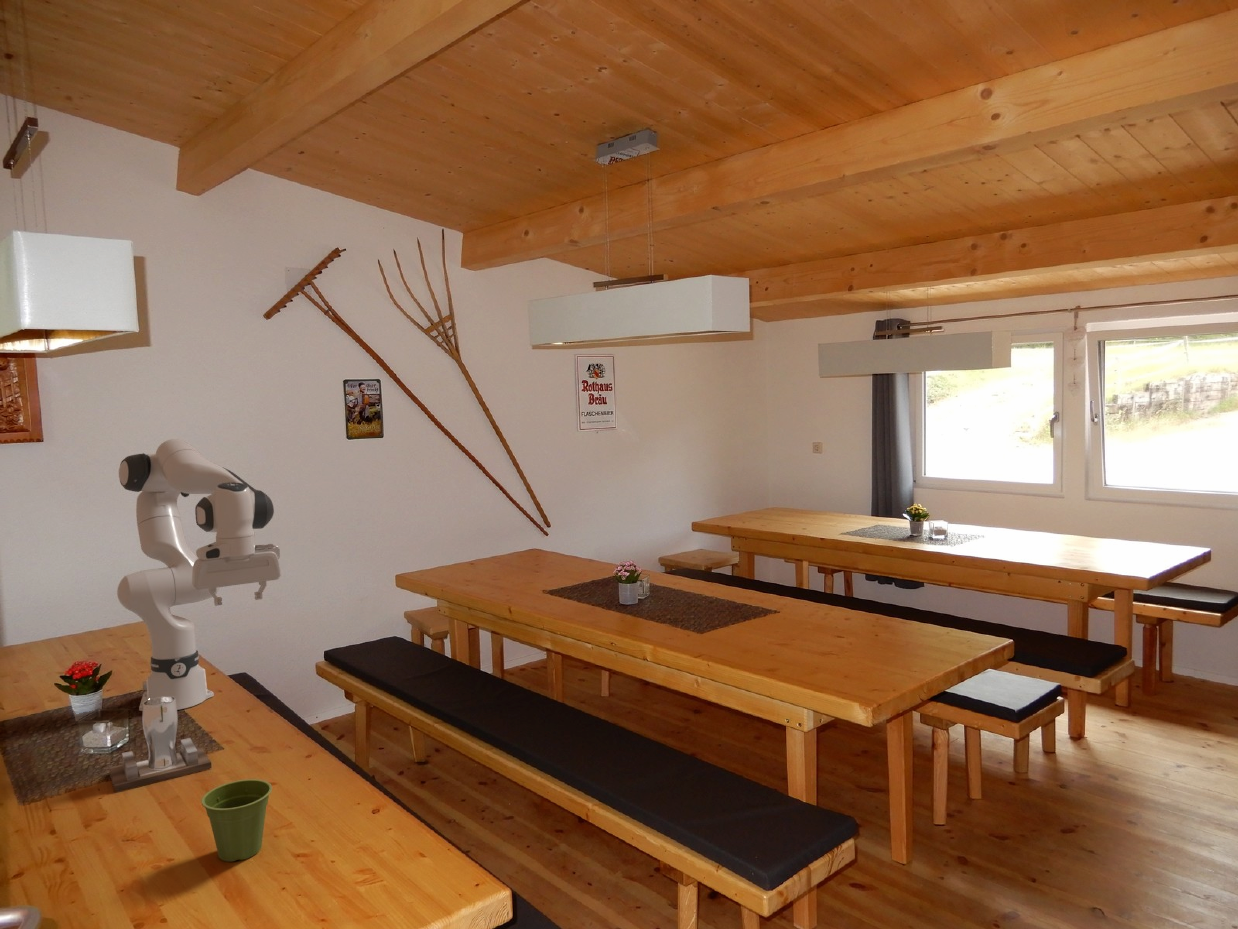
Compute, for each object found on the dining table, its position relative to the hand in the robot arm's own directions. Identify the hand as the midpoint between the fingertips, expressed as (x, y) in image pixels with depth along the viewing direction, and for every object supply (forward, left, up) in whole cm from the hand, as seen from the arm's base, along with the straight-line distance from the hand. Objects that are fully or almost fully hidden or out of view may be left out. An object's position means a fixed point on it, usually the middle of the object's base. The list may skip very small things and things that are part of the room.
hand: (238, 602), depth 207 cm
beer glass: (+12, -20, -33) cm, 40 cm away
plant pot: (+61, -14, -34) cm, 71 cm away
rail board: (+11, -20, -34) cm, 41 cm away
